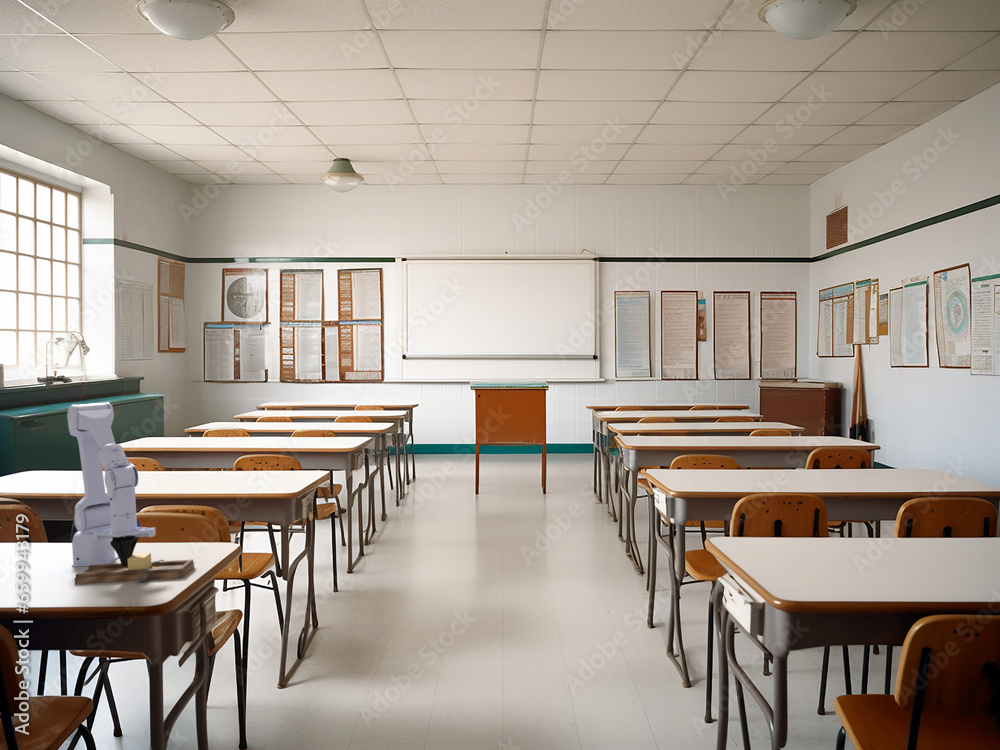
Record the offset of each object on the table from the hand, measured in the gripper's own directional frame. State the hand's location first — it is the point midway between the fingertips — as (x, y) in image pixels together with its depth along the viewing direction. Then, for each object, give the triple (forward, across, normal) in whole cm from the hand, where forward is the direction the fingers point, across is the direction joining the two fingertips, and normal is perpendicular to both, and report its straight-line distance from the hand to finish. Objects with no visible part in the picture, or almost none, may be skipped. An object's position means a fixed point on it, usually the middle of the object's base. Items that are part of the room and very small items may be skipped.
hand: (126, 565), depth 169 cm
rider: (+1, +3, 0) cm, 4 cm away
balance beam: (+3, +2, 0) cm, 4 cm away
